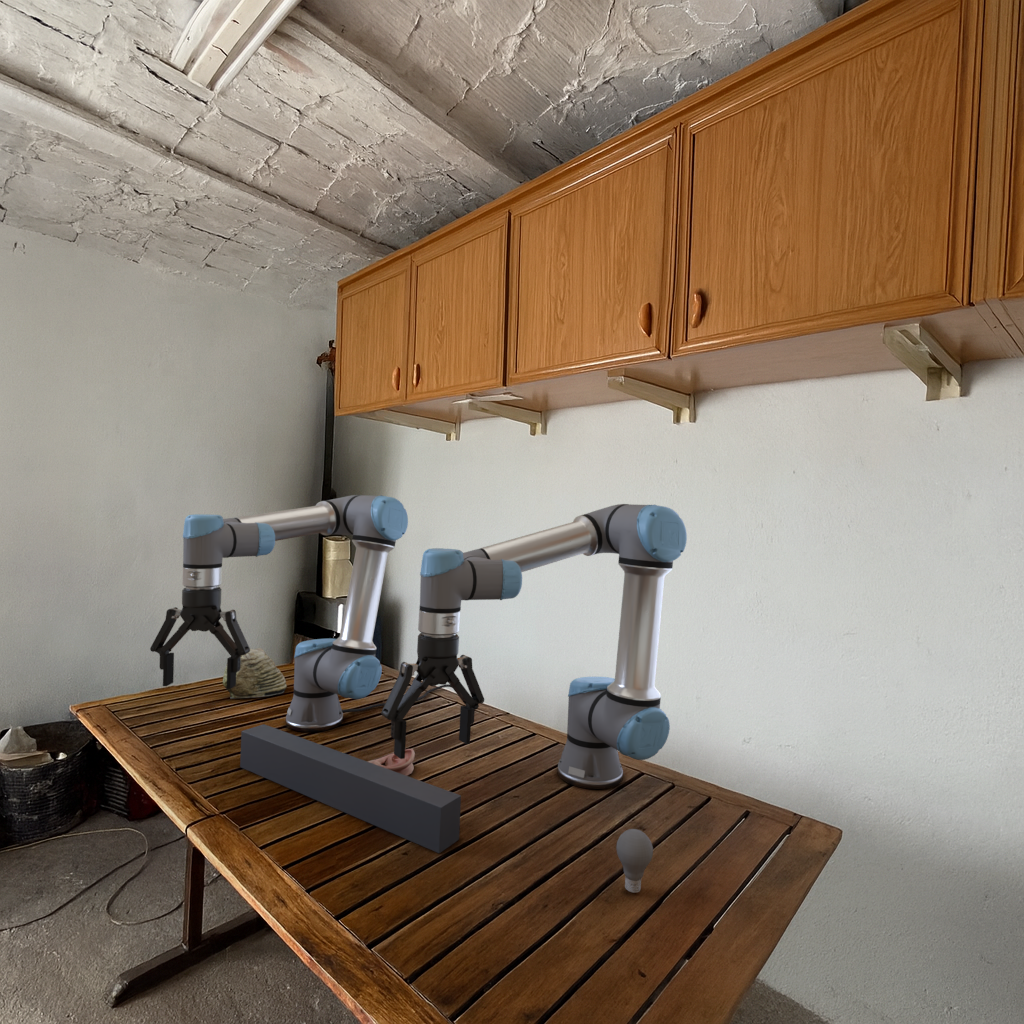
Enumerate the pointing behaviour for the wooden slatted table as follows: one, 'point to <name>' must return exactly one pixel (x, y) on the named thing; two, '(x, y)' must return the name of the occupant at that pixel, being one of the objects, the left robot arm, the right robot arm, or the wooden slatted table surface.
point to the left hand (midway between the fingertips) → (199, 686)
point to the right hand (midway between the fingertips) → (432, 748)
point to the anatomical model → (397, 762)
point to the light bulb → (634, 857)
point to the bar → (354, 786)
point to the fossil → (256, 676)
